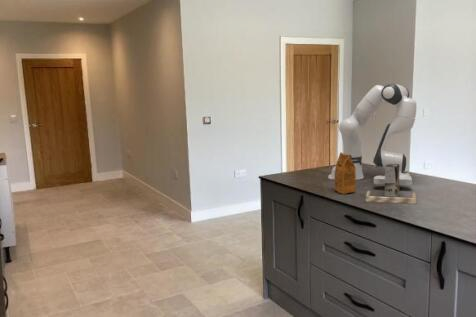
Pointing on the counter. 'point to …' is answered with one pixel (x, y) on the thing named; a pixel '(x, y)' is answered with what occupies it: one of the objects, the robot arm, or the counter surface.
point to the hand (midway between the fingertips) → (392, 183)
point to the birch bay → (390, 199)
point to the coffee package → (345, 174)
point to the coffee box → (392, 180)
